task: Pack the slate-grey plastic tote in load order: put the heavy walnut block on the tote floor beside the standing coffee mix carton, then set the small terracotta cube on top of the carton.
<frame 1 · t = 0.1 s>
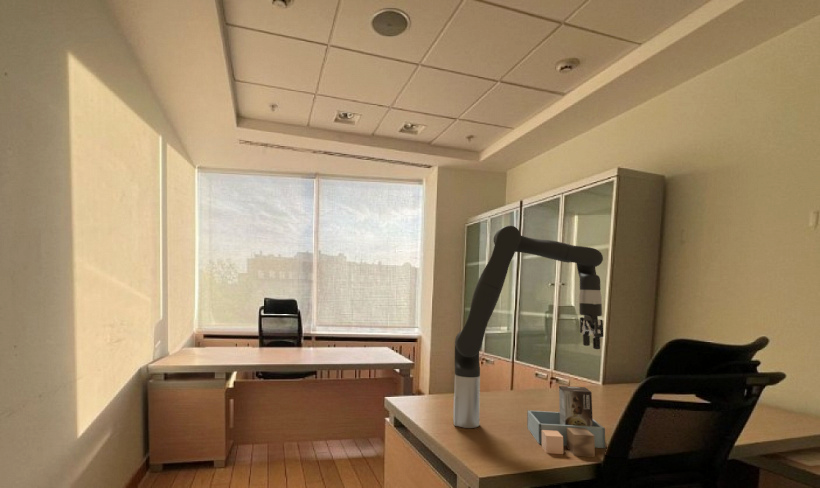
hand: (591, 347, 136), 29 cm above the table, tool pointing down, fingers open, 8 cm apart
coffee box: (576, 438, 126), resting in tote
block: (580, 452, 114), on the table
cube: (552, 450, 115), on the table
tote: (563, 437, 126), on the table
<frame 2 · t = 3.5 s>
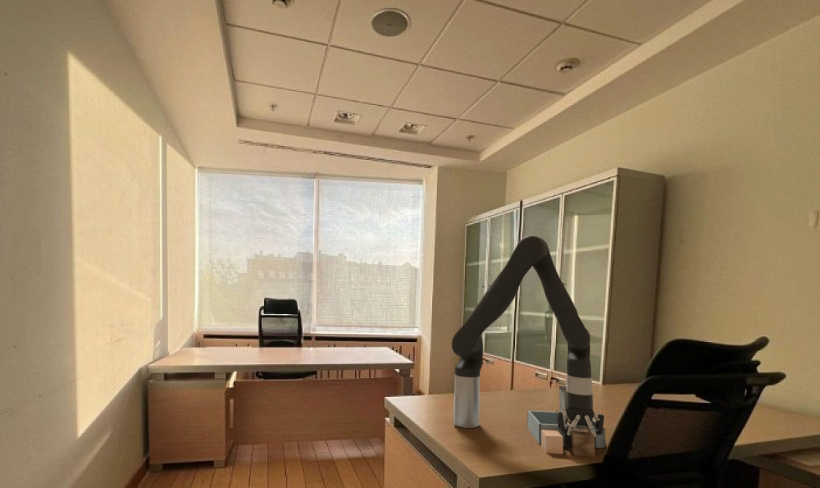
hand: (580, 447, 115), 1 cm above the table, tool pointing down, fingers closed on block, 6 cm apart
block: (580, 451, 114), on the table, touching gripper
everything else where it was.
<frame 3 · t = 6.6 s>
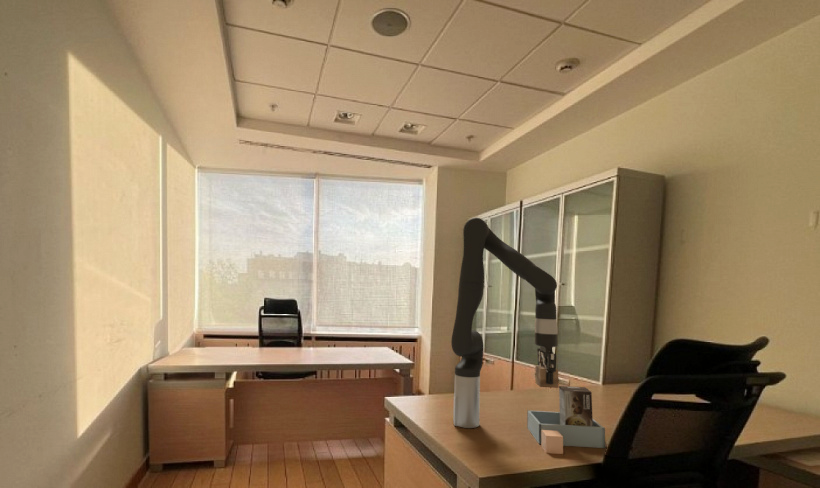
hand: (546, 381, 129), 18 cm above the table, tool pointing down, fingers closed on block, 6 cm apart
block: (546, 385, 128), point 17 cm above the table, touching gripper
everything else where it was.
when the fingers open (3 cm above the table, at t = 9.6 s): block drops 1 cm, resting on tote.
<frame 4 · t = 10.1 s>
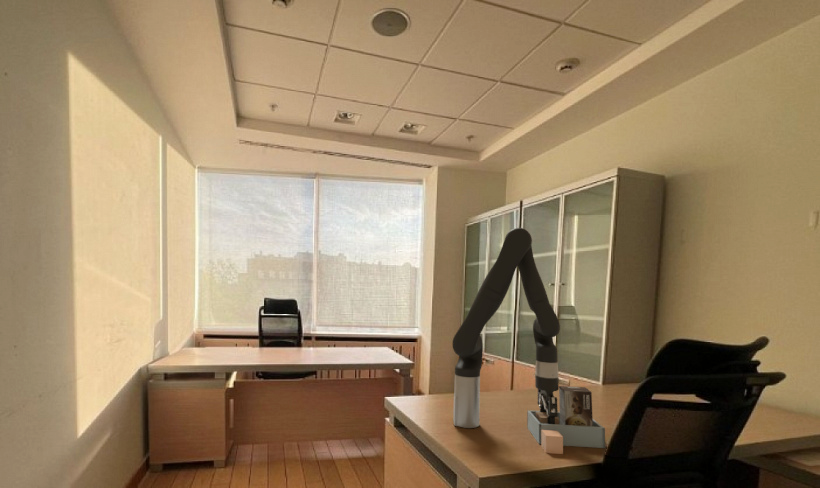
hand: (547, 424, 127), 4 cm above the table, tool pointing down, fingers open, 8 cm apart
block: (547, 433, 126), point 1 cm above the table, touching tote
everything else where it was.
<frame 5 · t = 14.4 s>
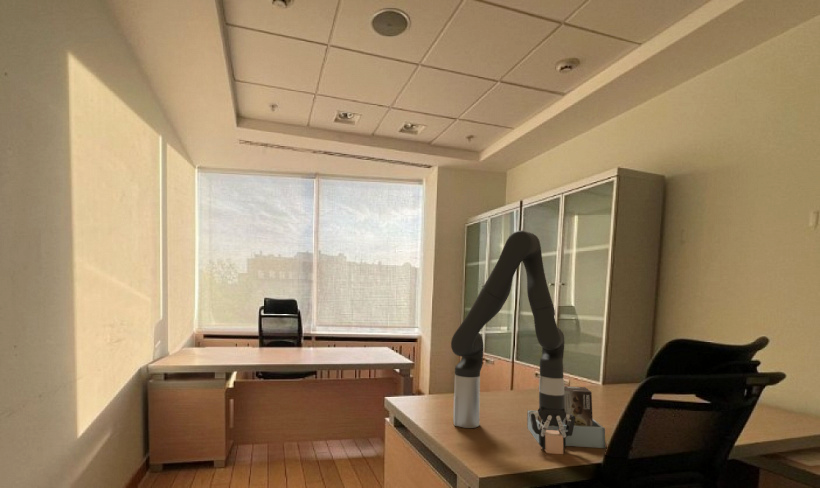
hand: (552, 448, 115), 0 cm above the table, tool pointing down, fingers closed on cube, 5 cm apart
cube: (552, 450, 115), on the table, touching gripper
everything else where it was.
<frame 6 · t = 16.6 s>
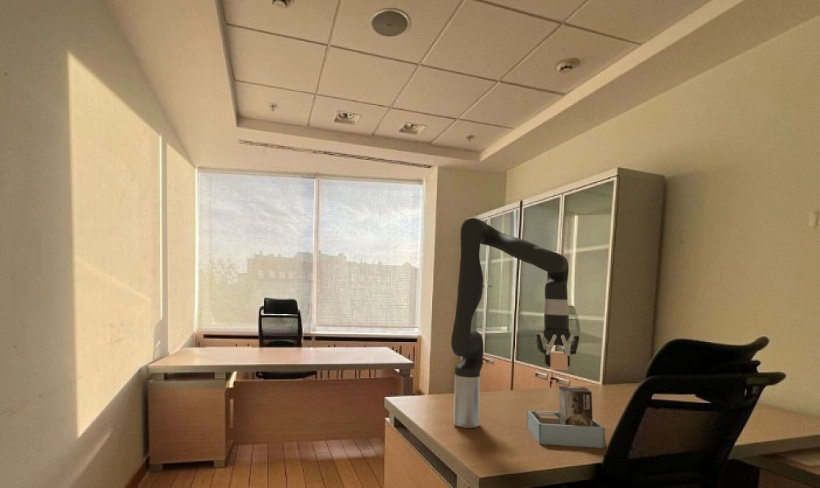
hand: (557, 366, 120), 25 cm above the table, tool pointing down, fingers closed on cube, 5 cm apart
cube: (557, 368, 120), point 24 cm above the table, touching gripper
everything else where it was.
when the fingers open (18 cm above the table, at t = 19.3 s): cube drops 1 cm, resting on coffee box.
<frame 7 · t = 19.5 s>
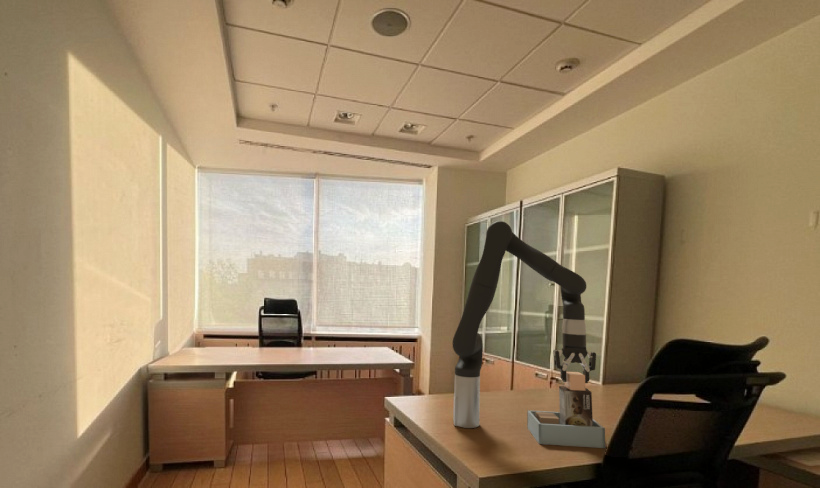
hand: (575, 382, 128), 18 cm above the table, tool pointing down, fingers open, 6 cm apart
coffee box: (576, 438, 126), resting in tote, touching cube
cube: (574, 388, 128), point 16 cm above the table, touching coffee box
everything else where it was.
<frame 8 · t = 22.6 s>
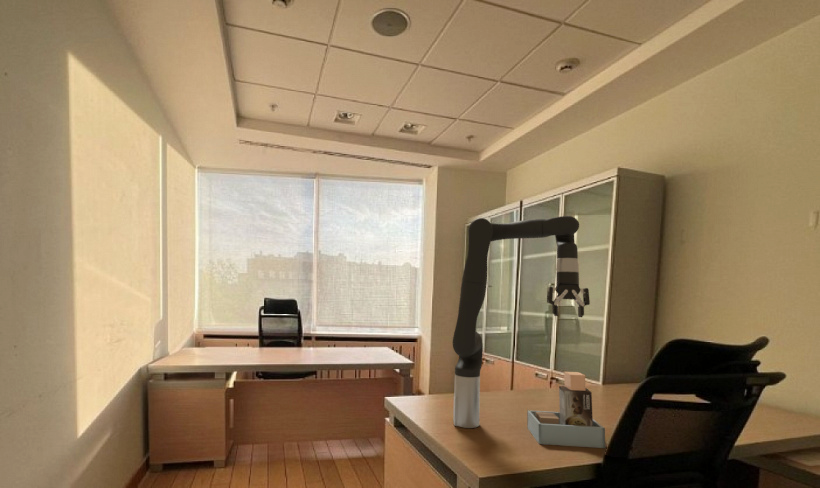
hand: (568, 316, 134), 40 cm above the table, tool pointing down, fingers open, 8 cm apart
nothing on the table moved.
at the end: block inside the target area on the tote (0.0 cm from its centre), point 0.8 cm above the tote's base; cube inside the target area on the coffee box (0.1 cm from its centre), point 16.3 cm above the coffee box's base; coffee box tilted 0° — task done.
